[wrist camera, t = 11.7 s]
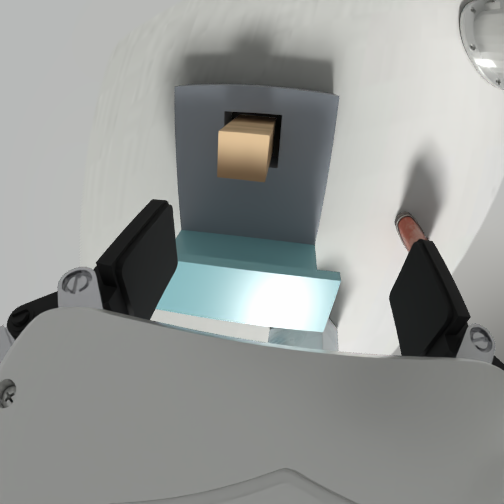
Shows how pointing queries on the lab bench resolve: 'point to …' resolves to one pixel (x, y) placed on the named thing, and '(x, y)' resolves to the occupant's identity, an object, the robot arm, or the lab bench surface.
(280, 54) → the lab bench surface
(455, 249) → the lab bench surface
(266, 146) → the peg
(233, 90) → the socket block
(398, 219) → the lighter
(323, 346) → the skincare box
